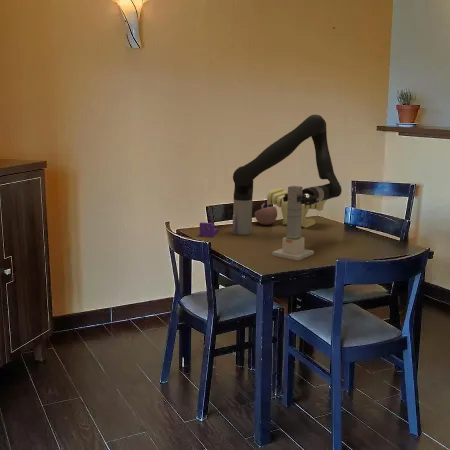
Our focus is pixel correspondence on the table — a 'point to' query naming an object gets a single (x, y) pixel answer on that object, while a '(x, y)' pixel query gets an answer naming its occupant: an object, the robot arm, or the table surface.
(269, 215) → the mortar and pestle
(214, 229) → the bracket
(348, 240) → the table surface
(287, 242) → the stand
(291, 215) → the column
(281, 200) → the slatted curved stool
